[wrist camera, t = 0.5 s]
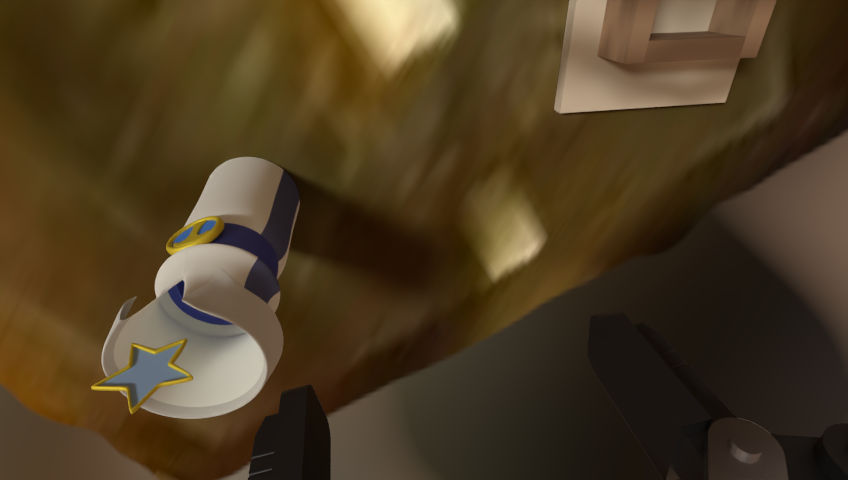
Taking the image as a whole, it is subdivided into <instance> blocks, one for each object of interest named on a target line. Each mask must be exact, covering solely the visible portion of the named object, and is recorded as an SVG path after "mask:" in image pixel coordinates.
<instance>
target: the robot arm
mask: <svg viewBox="0 0 848 480" xmlns="http://www.w3.org/2000/svg"><path fill="white" fill-rule="evenodd" d="M588 358H589V362H590V365H591V367H592V369H593V371H594V373H595V375H596V376H597V378H598V379H599V381H600V383H601V384H602V386H603V387H604V389H605V390H606V392H607V393H608V395H609V396H610V398H611V399H612V401H613V403H614V404H615V406H616V407H617V409H618V410H619V412H620V414H621V415H622V417H623V418H624V420H625V421H626V423H627V424H628V426H629V427H630V429H631V430H632V432H633V434H634V435H635V437H636V438H637V440H638V441H639V443H640V445H641V446H642V448H643V449H644V451H645V452H646V454H647V455H648V457H649V458H650V460H651V461H652V463H653V464H654V466H655V468H656V469H657V471H658V472H659V474H660V475H661V477H662V479H663V480H676V479H679V478H680V479H681V480H848V424H846V423H841V424H834V425H831V426H830V427H828V428H827V429H826V430H825V431H824V433H823V434H822V436H821V437H805V436H788V435H776V434H771V433H769V432H767V431H766V430H765V429H763V428H762V427H760V426H758V425H757V424H754V423H752V422H750V421H747V420H744V419H740V418H737V417H736V416H735V415H734V414H733V413H732V412H731V411H730V410H729V409H728V408H727V407H726V406H725V405H724V404H723V402H722V401H721V400H720V399H719V398H718V397H717V396H716V395H715V394H714V393H713V391H712V390H711V389H710V388H709V387H708V386H707V385H706V384H705V383H704V381H703V380H702V379H701V378H700V377H699V376H698V375H697V373H696V372H695V371H694V370H693V369H692V368H691V367H690V366H689V365H687V364H686V361H685V360H684V359H683V358H682V357H681V356H680V355H679V353H678V352H675V349H674V348H673V347H672V346H671V345H670V343H669V342H668V341H667V340H666V339H665V338H664V337H663V336H662V334H660V333H658V332H657V331H655V330H654V329H652V328H650V327H649V326H647V325H645V324H643V323H640V324H636V325H633V324H632V322H631V321H630V320H629V319H628V318H627V316H626V315H625V314H624V313H623V312H622V311H621V310H618V309H616V310H612V311H608V312H604V313H600V314H596V315H592V316H591V318H590V327H589V339H588ZM330 442H331V439H330V429H329V424H328V420H327V417H326V415H325V412H324V410H323V408H322V406H321V404H320V402H319V400H318V397H317V395H316V393H315V391H314V389H313V387H312V386H311V385H306V386H302V387H298V388H294V389H290V390H286V391H283V392H282V394H281V398H280V406H279V414H275V415H271V416H267V417H265V419H264V421H263V423H262V425H261V426H260V428H259V430H258V432H257V434H256V436H255V440H254V446H253V452H252V461H251V464H250V471H249V478H248V480H330V463H331V462H330V461H331V458H330V457H331V454H330V453H331V452H330V451H331V450H330V449H331V443H330Z"/></svg>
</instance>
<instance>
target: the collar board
mask: <svg viewBox="0 0 848 480" xmlns="http://www.w3.org/2000/svg"><path fill="white" fill-rule="evenodd" d="M775 3H776V0H569V6H568V13H567V21H566V28H565V35H564V42H563V49H562V56H561V64H560V71H559V78H558V85H557V92H556V99H555V107H554V110H555V111H557V112H559V113H573V112H588V111H603V110H618V109H633V108H648V107H663V106H679V105H694V104H709V103H724V102H726V99H727V96H728V93H729V90H730V87H731V84H732V81H733V78H734V75H735V72H736V69H737V66H738V63H739V60H740V58H755V57H756V56H757V54H758V51H759V48H760V45H761V42H762V40H763V37H764V34H765V31H766V28H767V26H768V23H769V20H770V17H771V14H772V12H773V9H774V6H775Z"/></svg>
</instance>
